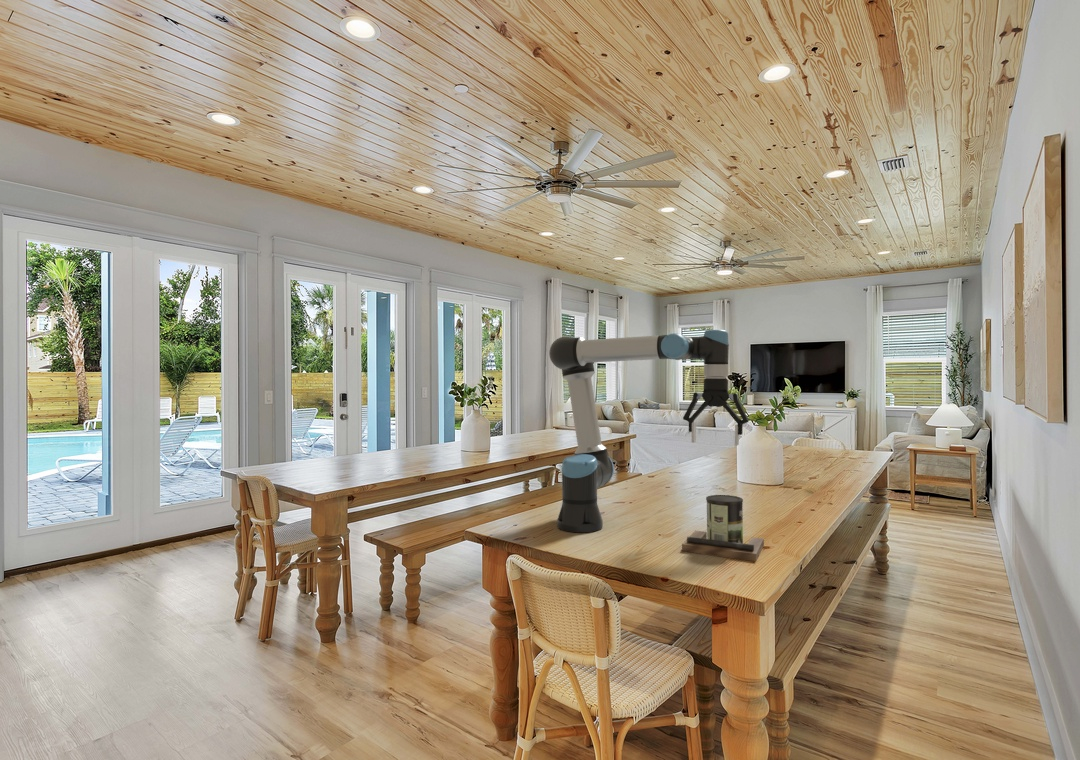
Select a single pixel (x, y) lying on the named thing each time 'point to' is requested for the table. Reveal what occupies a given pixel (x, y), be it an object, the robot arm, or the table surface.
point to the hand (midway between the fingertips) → (714, 443)
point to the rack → (723, 547)
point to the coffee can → (725, 518)
